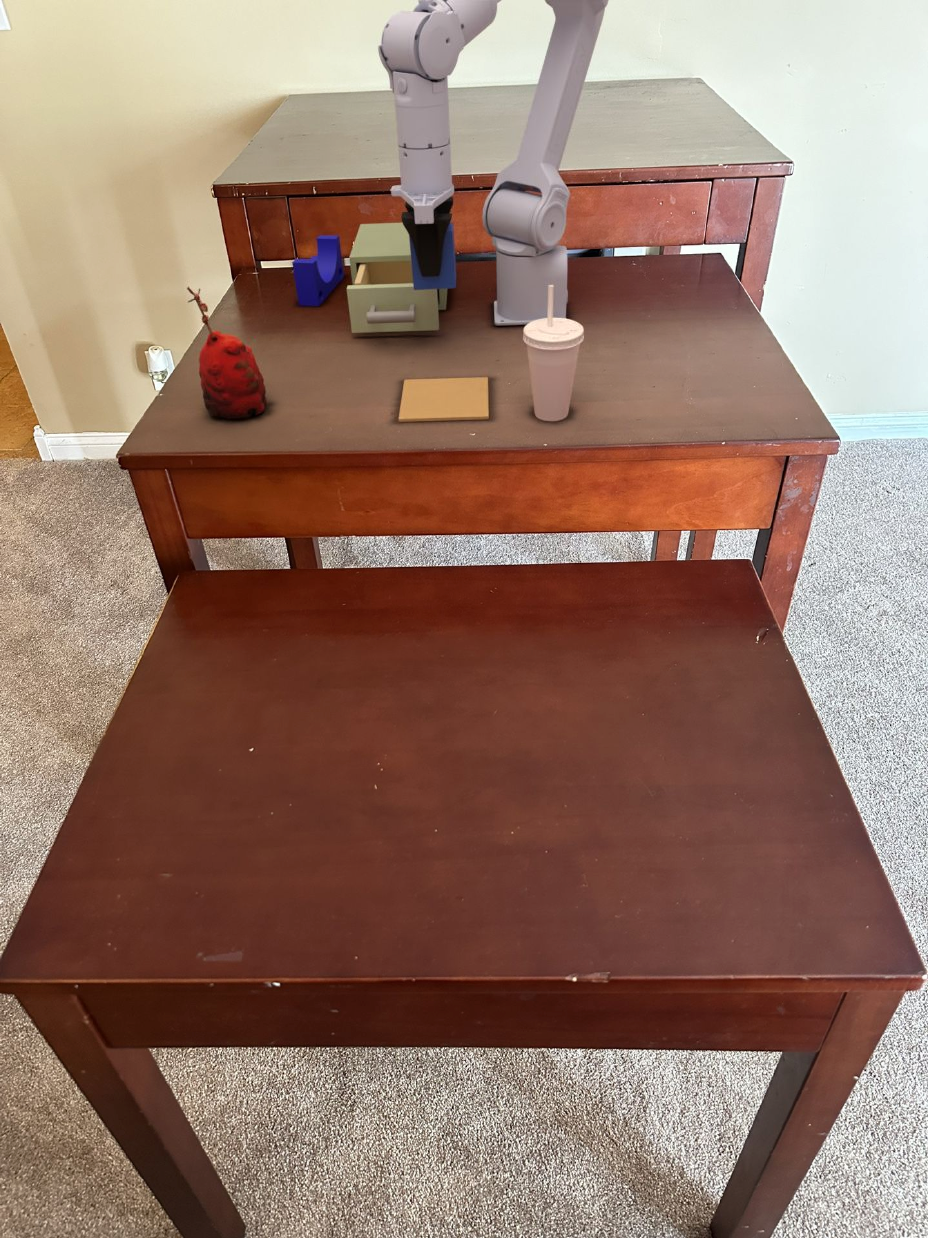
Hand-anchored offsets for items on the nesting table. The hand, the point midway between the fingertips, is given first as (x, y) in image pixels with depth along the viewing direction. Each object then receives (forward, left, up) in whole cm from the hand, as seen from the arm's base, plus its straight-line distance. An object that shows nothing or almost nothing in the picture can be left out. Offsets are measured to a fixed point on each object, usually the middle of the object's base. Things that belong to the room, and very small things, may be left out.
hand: (431, 269), depth 106 cm
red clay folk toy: (+23, +14, -11) cm, 29 cm away
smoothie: (-13, +17, -11) cm, 24 cm away
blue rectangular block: (0, 0, -2) cm, 2 cm away
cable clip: (+19, -24, -11) cm, 32 cm away
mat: (-1, +13, -10) cm, 17 cm away
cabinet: (+6, -22, -10) cm, 25 cm away
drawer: (+6, -10, -10) cm, 15 cm away
